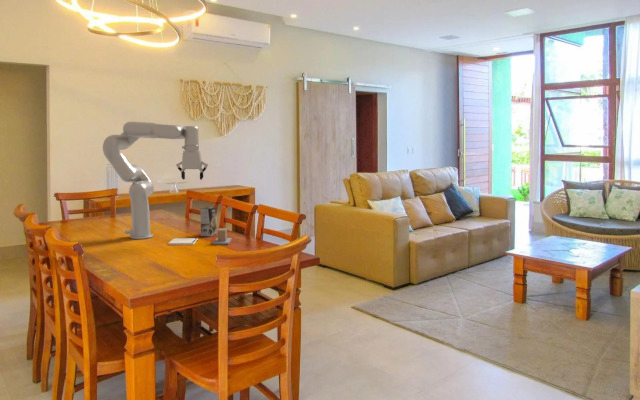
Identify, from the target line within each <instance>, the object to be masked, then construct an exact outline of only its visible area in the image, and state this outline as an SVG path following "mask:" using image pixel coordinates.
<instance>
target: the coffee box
mask: <svg viewBox="0 0 640 400" xmlns="http://www.w3.org/2000/svg"><path fill="white" fill-rule="evenodd" d="M199 211H200V237H209V236H210V237H213V236H215V235H218V223H217V221H218V220H217V217H218V215H217V207H216V206H204V207H202V208H200V210H199Z"/></svg>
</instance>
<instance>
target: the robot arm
mask: <svg viewBox="0 0 640 400" xmlns="http://www.w3.org/2000/svg"><path fill="white" fill-rule="evenodd" d="M122 131H123V132H121V134H110V135H108V136H107V137H105V139H104V141H103V144H102V152H103V155H104V157H105V158H106V159H107V161H108V162H109V163H110V165H111V166H112V168H113V170H114V171H115V172H116V173H117V174H118V176H119V177H120V179H121V180H122V181H123V182H125V183H132V184H131V185H130V187H129V188H128V189H129V190H128V193H129V198H130V199H129V200H130V211H131V228H132V229H124V233H125V234H126V235H129V234H130V235H129V238H130V239H134V240H144V239H150V238H153V237H154V234H153V233H151V223H150V219H151V218H150V217H151V216H150V204H149V203H150V202H149V198H148V197H150V196H151V195H152V194H153V193H154V190H155V186H154V184H153V182H152V181H151V179H150V178H149V175H147V174H146V172H145V171H144V170H143V168H141V167H140V166H139V165H137V164H131V163H130V162H129V160H128V159H127V157H126V156H125V155H124V154H123V153H122V152H121V151H123V150H126V149H128V148H130V147H132V145H133V144H134V143H135V142H137V141H138V140H140V138H143V139H164V140H165V139H167V140H183V139H184V145H183V146H182V147H181V149H183V151H182V156H181V157H182V159H181V161H180V162H178V163H177V164H176V165H175V166H176V168H177V169H178V170H179V171H180V173H181V174H180V175H181V179H182V180H186V172H185V170H199V171H200V172H199V179H200V180H201V181H202V180H203V178H204V173H205V171H206V170H207V169H208V167H209V164H208V163H206V162H204V161H202V155H201V151H200V149H199V147H200V145H199V144H200V142H199V141H200V139H199V136H200V135H199V127H198V126H196V125H178V124H161V123H160V124H159V123H155V122H145V121H144V122H143V121H127V122H126V123H124V125H123V127H122ZM202 165H203V166H204V167H203V166H202ZM202 167H203V168H202Z"/></svg>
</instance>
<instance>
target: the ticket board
mask: <svg viewBox="0 0 640 400" xmlns="http://www.w3.org/2000/svg"><path fill="white" fill-rule="evenodd" d="M197 240H198V241H199V238H198V237H181V238H180V237H179V238H178V237H175V238H173V239H172V240H170V241H169V242H168V246H173V245H175V246H176V245H177V246H179V245H180V246H183V245H184V246H188V245H189V246H193V245H195V243H197V242H198V241H197ZM196 241H197V242H196Z"/></svg>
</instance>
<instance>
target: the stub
mask: <svg viewBox="0 0 640 400" xmlns="http://www.w3.org/2000/svg"><path fill="white" fill-rule="evenodd" d="M232 240H233V239H232V237H228V229H227V227H226V228H225V227H224V228H222V227H219V228H217V237H216V238H215V240H214V241H213V242H212V245H229V244H230V243H231V241H232Z"/></svg>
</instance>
